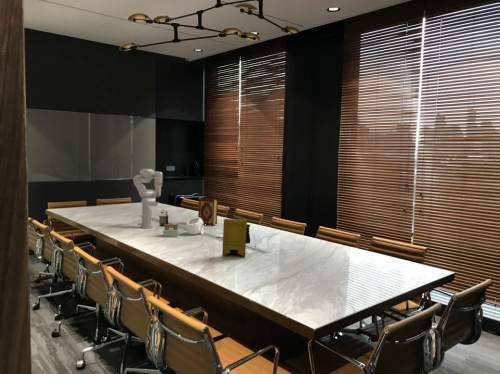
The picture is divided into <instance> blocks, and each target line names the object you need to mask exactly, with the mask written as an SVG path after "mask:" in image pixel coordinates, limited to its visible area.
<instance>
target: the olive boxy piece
mask: <svg viewBox="0 0 500 374" xmlns="http://www.w3.org/2000/svg"><path fill="white" fill-rule="evenodd" d="M250 227H251V224H248V220H247V219H240V218H239V219H237V218H224V219H223V227H222V228H223V229H222V230H223V231H222V232H223V233H222V236H216V239H222V251H221V252H222V254H221V257H222V256H224V257H225V256H226V255H227V254H237V255H241V256H242V258H246V254H248V255H249V254H250V253H248V252H246V250H247V249H246V247H247V245H248V244H251V236H250ZM252 228H253V231H255V229H254V228H255V227H252ZM255 237H256V236H255V235H254V236H253V238H254V240H256V239H255ZM254 246H255V247H254V249H253V250H255V248H256V244H254Z"/></svg>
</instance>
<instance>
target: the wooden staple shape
mask: <svg viewBox="0 0 500 374" xmlns="http://www.w3.org/2000/svg"><path fill="white" fill-rule="evenodd" d="M178 225H179V224H170V223H169V224H167V223H165V224H164V225H163V226H164V229H165V230H169V229H170V228H172V229H173V230H178V229H179V228H178V227H179V226H178Z"/></svg>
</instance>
